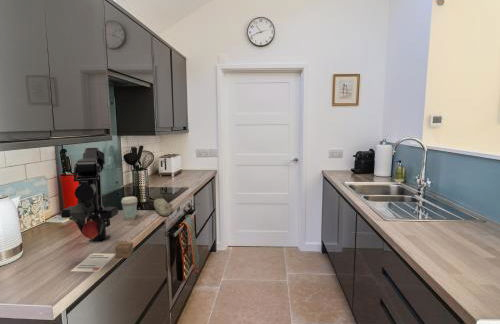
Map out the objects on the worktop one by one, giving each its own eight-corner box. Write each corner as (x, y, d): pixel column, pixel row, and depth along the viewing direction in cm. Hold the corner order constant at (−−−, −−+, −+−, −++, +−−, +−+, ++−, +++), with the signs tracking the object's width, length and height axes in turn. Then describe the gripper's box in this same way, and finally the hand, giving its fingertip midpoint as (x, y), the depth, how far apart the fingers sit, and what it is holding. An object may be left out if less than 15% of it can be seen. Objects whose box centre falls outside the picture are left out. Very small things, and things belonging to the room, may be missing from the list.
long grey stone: (166, 203, 195) (151, 205, 191) (165, 195, 195) (150, 198, 190) (176, 215, 164) (158, 218, 160) (175, 206, 163) (157, 209, 159)
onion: (83, 243, 102) (82, 222, 101) (82, 238, 107) (80, 218, 105) (101, 240, 105) (100, 219, 104) (99, 235, 110) (98, 215, 109)
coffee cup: (120, 221, 153) (119, 200, 151) (124, 216, 161) (123, 196, 160) (136, 220, 155) (135, 199, 153) (139, 215, 163) (138, 195, 161)
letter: (92, 254, 114) (92, 253, 114) (116, 254, 114) (116, 253, 114) (70, 272, 100) (70, 271, 100) (98, 272, 101) (97, 271, 100)
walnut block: (121, 253, 116) (120, 241, 115) (133, 253, 116) (133, 242, 115) (115, 259, 111) (115, 247, 110) (128, 259, 111) (127, 247, 110)
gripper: (48, 199, 96) (52, 242, 98) (102, 200, 95) (104, 243, 98) (69, 191, 107) (72, 230, 109) (117, 192, 106) (119, 231, 109)
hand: (91, 233), depth 106 cm, fingers closed on onion, 6 cm apart
